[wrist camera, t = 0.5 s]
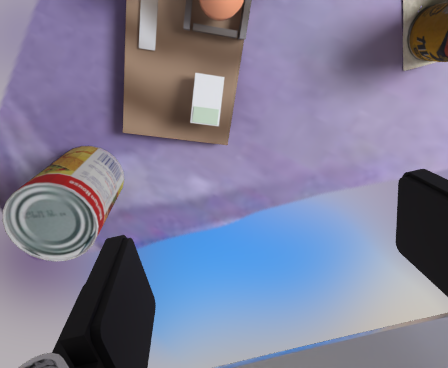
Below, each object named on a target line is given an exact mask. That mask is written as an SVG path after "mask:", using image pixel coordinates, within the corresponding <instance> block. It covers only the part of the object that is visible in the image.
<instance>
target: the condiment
mask: <svg viewBox="0 0 448 368" xmlns="http://www.w3.org/2000/svg"><path fill="white" fill-rule="evenodd" d="M420 6H422V8H421V9H420ZM418 10H420V11H419V12H418ZM417 12H418V13H417ZM435 62H448V0H403V69H404V71H406V70H410V69H414V68H417V67H421V66H424V65H428V64H432V63H435Z"/></svg>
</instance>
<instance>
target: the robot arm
mask: <svg viewBox="0 0 448 368" xmlns="http://www.w3.org/2000/svg"><path fill="white" fill-rule="evenodd" d="M396 246H397V249H398V250H399V252H400V253H401V254H402V255H403V256H404V257H405V258H407V259H408V260H409V261H410V262H411V263H412V264H413V265H414V266H415V267H416V268H417V269H418V270H419V271H420V272H422V273H423V274H424V275H425V276H426V277H427V278H428V279H429V280H430V281H431V282H432V283H433V284H435V285H436V286H437V287H438V288H439V289H440V290H441V291H442V292H443V293H444V294H445V295H446V296H447V297H448V180H447V179H445V178H443V177H441V176H438V175H436V174H434V173H432V172H430V171H428V170H426V169H420V170H415V171H410V172H406V173H405V174H404V175H403V177H402V178H400V180H399V185H398V206H397V229H396ZM154 315H155V299H154V296H153V293H152V290H151V288H150V285H149V282H148V279H147V277H146V274H145V272H144V269H143V266H142V263H141V261H140V258H139V255H138V253H137V250H136V247H135V245H134V242H133V240H132V238H126V236H125V235H121V236H117V237H112V238H108V239H106V240H105V243H104V245H103V247H102V249H101V251H100V254H99V256H98V258H97V260H96V262H95V264H94V267H93V269H92V271H91V273H90V275H89V278H88V280H87V282H86V284H85V285H84V286H83V288H82V290H81V292H80V294H79V296H78V298H77V300H76V303H75V305H74V307H73V309H72V311H71V313H70V315H69V317H68V319H67V322H66V324H65V326H64V328H63V330H62V332H61V334H60V337H59V339H58V341H57V343H56V345H55V348H54V350H53V352H52V353H47V354H42V355H39V356H37V357H35V358H32V359H31V360H29V361H27V362H26V363H24V364H23V365H21V366H20V367H19V368H147V367H148V359H149V352H150V345H151V337H152V330H153V322H154ZM214 368H448V313H445V314H440V315H437V316H432V317H427V318H423V319H419V320H414V321H409V322H405V323H401V324H397V325H392V326H388V327H383V328H380V329H375V330H371V331H366V332H362V333H358V334H353V335H349V336H345V337H340V338H336V339H332V340H328V341H323V342H319V343H315V344H311V345H307V346H302V347H298V348H293V349H290V350H285V351H281V352H277V353H273V354H268V355H264V356H260V357H257V358H252V359H247V360H243V361H239V362H235V363H231V364H227V365H222V366H218V367H214Z"/></svg>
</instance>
